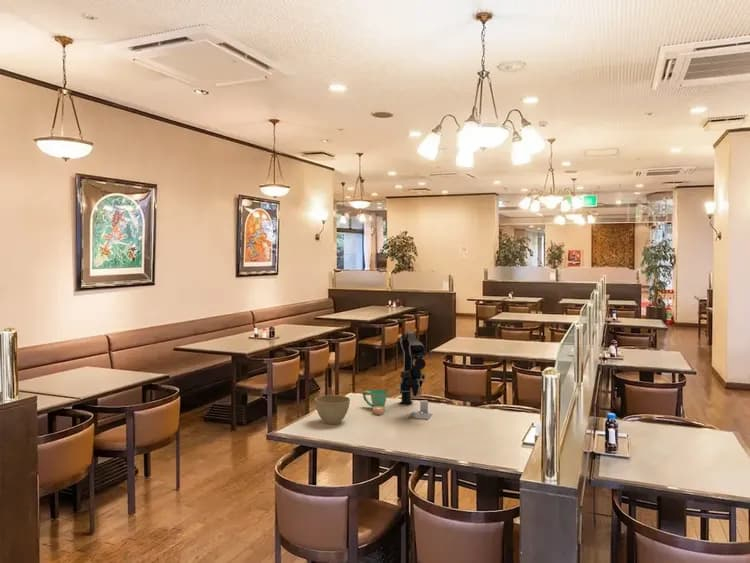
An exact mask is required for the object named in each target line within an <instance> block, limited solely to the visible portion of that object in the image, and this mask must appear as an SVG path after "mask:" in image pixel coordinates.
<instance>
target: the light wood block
mask: <svg viewBox="0 0 750 563" xmlns="http://www.w3.org/2000/svg"><path fill="white" fill-rule="evenodd" d="M419 402H420V403H419V405H420V406H419V410H420V412H423V413H429V411H428V410H429V402H428V400H426V399H423V400H420V401H419Z"/></svg>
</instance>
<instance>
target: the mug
mask: <svg viewBox="0 0 750 563" xmlns="http://www.w3.org/2000/svg"><path fill="white" fill-rule="evenodd" d="M366 394H368V395H370V398H371V402H370V401H369V399H368V398H367V396H366ZM362 396H363V400H364V401H365V403H366V404H367V405H369V406H370V407H372V408H373V407H375V406H382V407H384V408H385V405H386V402H387V397H388V390H385V389H372V390H370V391H369V390H365V391H364V392H363V393H362Z"/></svg>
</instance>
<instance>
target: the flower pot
mask: <svg viewBox="0 0 750 563" xmlns="http://www.w3.org/2000/svg"><path fill="white" fill-rule="evenodd" d="M350 402H351V398H349V397H347V396H345V395H337V394H333V395H332V394H329V395H320V396H318V397H315V398H314V403H315V409H316V411H317V415H318V416H319V417H320V419H321V420H322V422H323V423H324V424H327V425H336V424H337V425H338V424H340V423H341V422H342V421H343V419H344V418H345V417H346V415H347V413H348V410H349V408H350V404H351V403H350Z"/></svg>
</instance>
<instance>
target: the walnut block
mask: <svg viewBox="0 0 750 563" xmlns="http://www.w3.org/2000/svg"><path fill="white" fill-rule="evenodd" d="M422 387H423V386H421V387H419V389H418V392H417V394H416V396H414V395H413V391H412V387H411V388H410V397H411V399H420V398H421V397H422V396H423V394H422V389H423V388H422Z"/></svg>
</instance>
